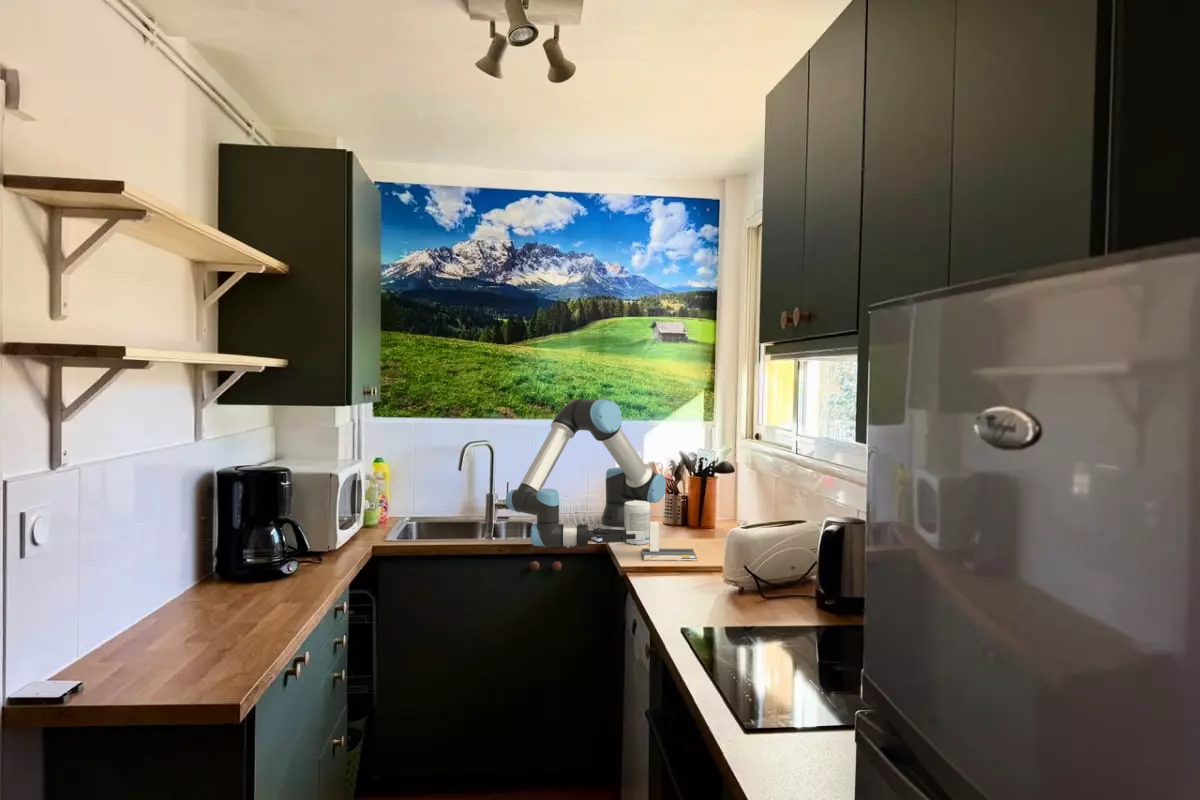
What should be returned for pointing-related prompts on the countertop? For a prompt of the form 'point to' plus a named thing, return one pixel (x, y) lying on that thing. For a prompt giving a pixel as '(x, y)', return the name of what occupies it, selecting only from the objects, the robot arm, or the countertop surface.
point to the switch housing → (670, 553)
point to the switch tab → (653, 537)
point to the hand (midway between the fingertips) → (645, 535)
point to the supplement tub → (637, 519)
